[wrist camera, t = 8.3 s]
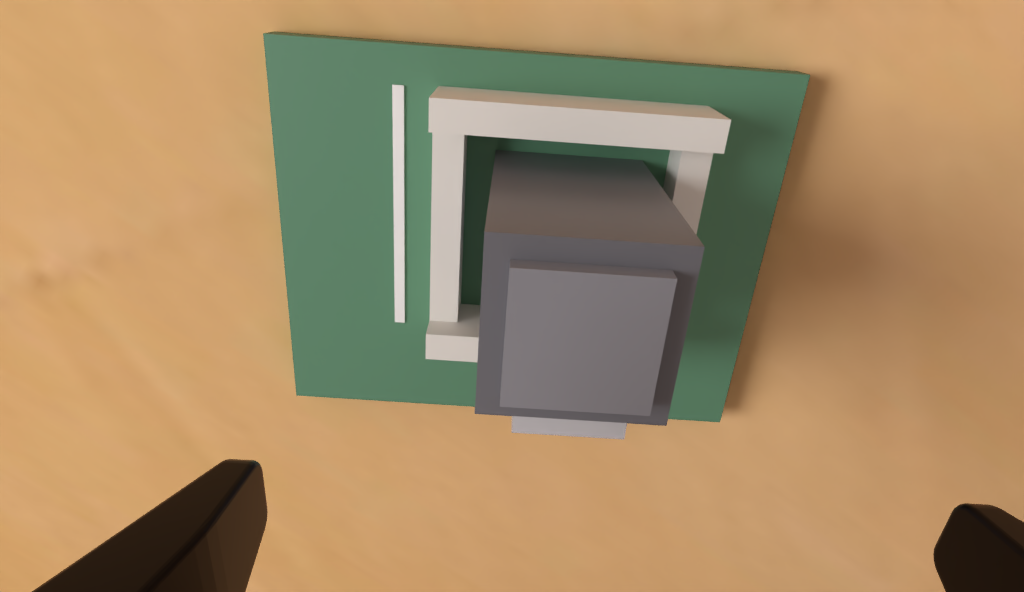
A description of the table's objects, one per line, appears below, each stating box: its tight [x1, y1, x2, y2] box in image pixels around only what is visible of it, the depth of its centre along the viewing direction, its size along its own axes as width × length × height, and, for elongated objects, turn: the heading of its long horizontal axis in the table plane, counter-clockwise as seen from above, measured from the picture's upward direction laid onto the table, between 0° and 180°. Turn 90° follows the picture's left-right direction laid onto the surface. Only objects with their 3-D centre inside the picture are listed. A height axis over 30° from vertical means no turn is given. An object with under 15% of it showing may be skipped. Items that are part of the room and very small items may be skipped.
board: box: [263, 32, 810, 422], centre depth 18 cm, size 14×11×3 cm
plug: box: [475, 150, 705, 439], centre depth 15 cm, size 4×4×7 cm
